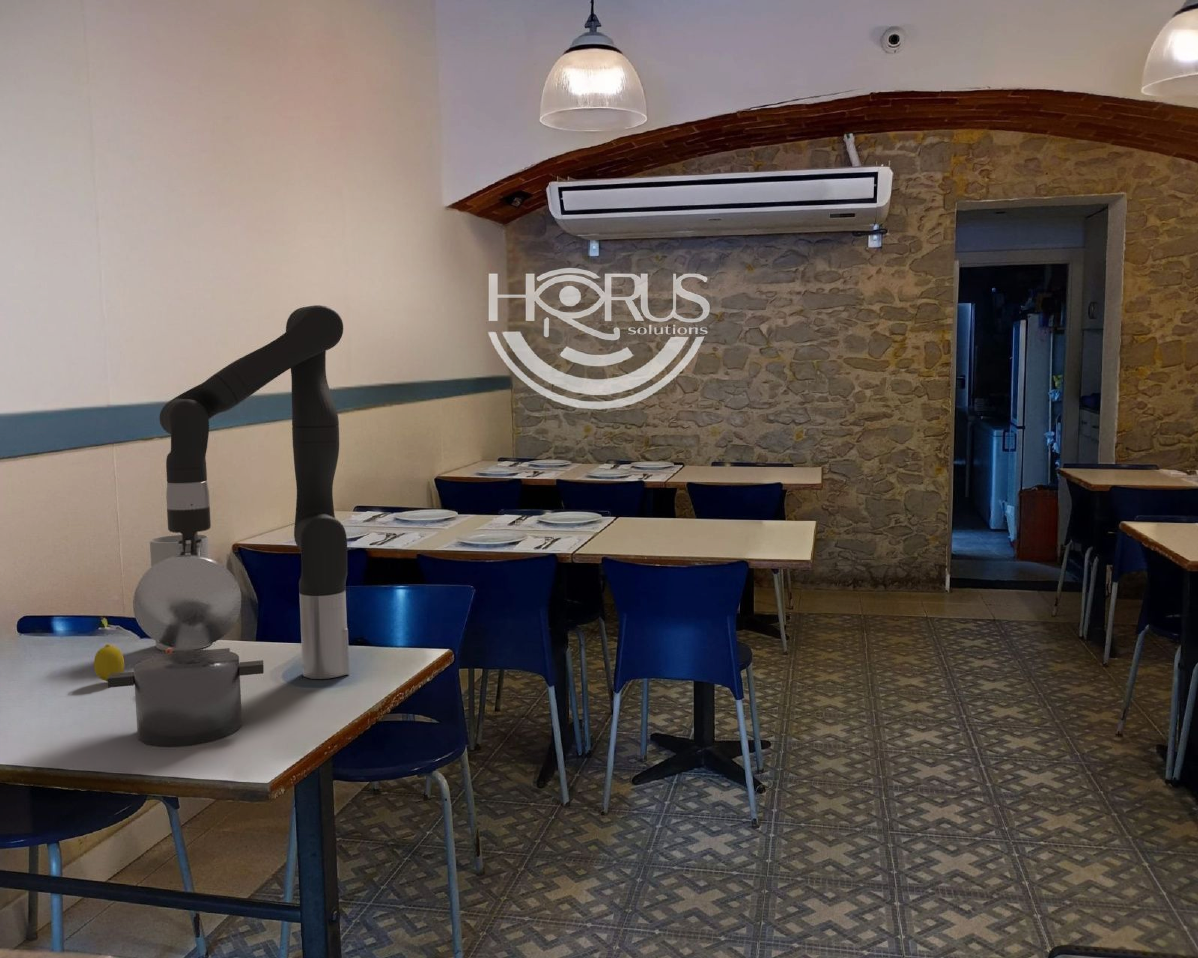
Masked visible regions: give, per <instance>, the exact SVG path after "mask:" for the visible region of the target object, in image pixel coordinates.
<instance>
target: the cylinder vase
mask: <svg viewBox="0 0 1198 958" xmlns="http://www.w3.org/2000/svg"><path fill="white" fill-rule="evenodd" d="M198 539H202V548H201V556H203V557H207V558H210V559H211V556H210V555H211V554H210V536H209V535H206V534H198ZM180 540H182V534H175V535H174V534H172V535H165V536H158V537H154V538H151V539H149V548H150V549H149V550H150V552H149V553H150V566H151V567H152V566H154V565H155V564H157V563H158V562H160V561H162V560H164V559H167V558H170V557H174V556H179V555H180V551H179V548H178V542H180ZM151 567H150V568H151ZM211 645H212V644H209V645H206V646H203V647H199V648H192V649H181V648H174V647H169V646H166V645H163V644H161V643H159V642H157V641H155V647H156V648H157V649H158V650H160V651H162V652H165V651H166V650H167V649H168V648H171V649H172V653H174V652H181V651H190V650H202V649H204V648H207V647H209V646H211Z"/></svg>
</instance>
